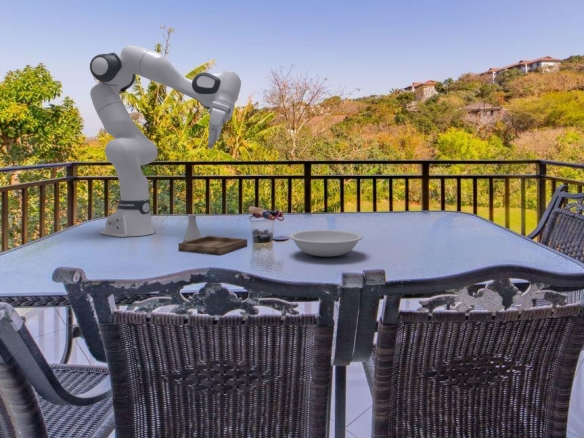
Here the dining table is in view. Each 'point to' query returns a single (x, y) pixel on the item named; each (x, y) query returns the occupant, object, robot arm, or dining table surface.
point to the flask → (192, 229)
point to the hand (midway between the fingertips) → (209, 145)
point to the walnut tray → (212, 245)
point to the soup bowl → (325, 241)
